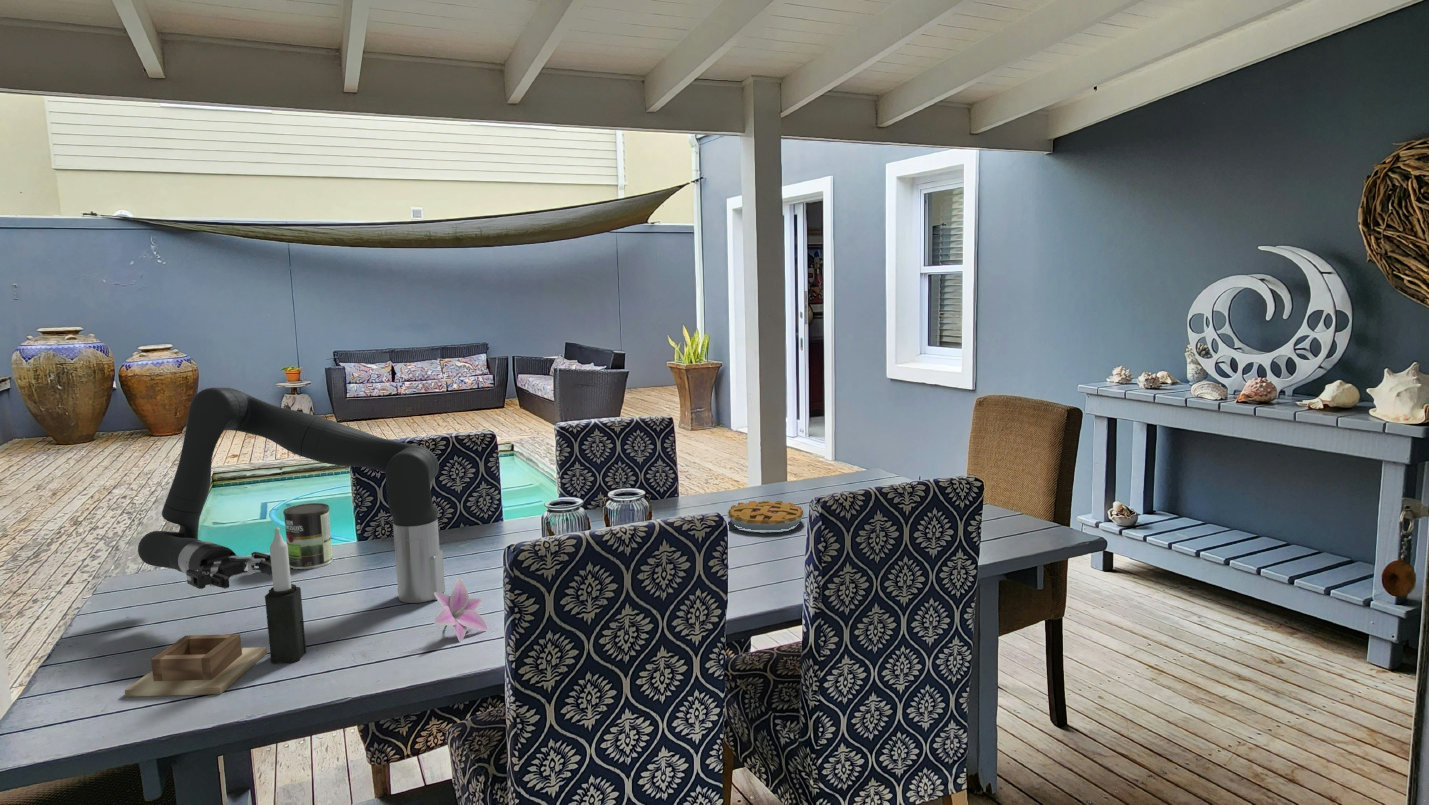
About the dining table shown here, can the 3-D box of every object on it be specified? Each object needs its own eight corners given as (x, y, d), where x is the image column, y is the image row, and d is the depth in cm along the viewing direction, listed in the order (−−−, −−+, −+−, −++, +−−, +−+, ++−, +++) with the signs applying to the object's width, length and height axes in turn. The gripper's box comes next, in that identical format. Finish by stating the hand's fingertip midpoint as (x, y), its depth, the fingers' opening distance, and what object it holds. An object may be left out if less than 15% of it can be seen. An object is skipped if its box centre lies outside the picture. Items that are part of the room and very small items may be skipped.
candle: (280, 652, 161) (268, 524, 158) (308, 650, 162) (296, 523, 158) (268, 664, 156) (256, 532, 153) (297, 662, 157) (285, 531, 153)
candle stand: (267, 653, 161) (264, 627, 160) (220, 694, 145) (217, 665, 144) (181, 655, 161) (178, 629, 160) (125, 696, 145) (121, 667, 144)
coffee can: (306, 572, 206) (301, 515, 204) (279, 566, 211) (273, 511, 209) (342, 559, 215) (338, 505, 213) (315, 554, 220) (310, 501, 218)
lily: (424, 654, 162) (443, 615, 159) (412, 612, 171) (430, 574, 168) (483, 656, 169) (502, 619, 167) (469, 616, 178) (486, 579, 175)
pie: (721, 534, 232) (721, 516, 231) (733, 512, 253) (732, 496, 252) (802, 537, 228) (802, 519, 227) (806, 515, 249) (807, 498, 249)
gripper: (167, 553, 166) (209, 568, 157) (241, 534, 178) (284, 547, 169) (171, 590, 167) (213, 607, 158) (244, 569, 179) (287, 583, 170)
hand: (250, 576), depth 163 cm, fingers open, 8 cm apart
